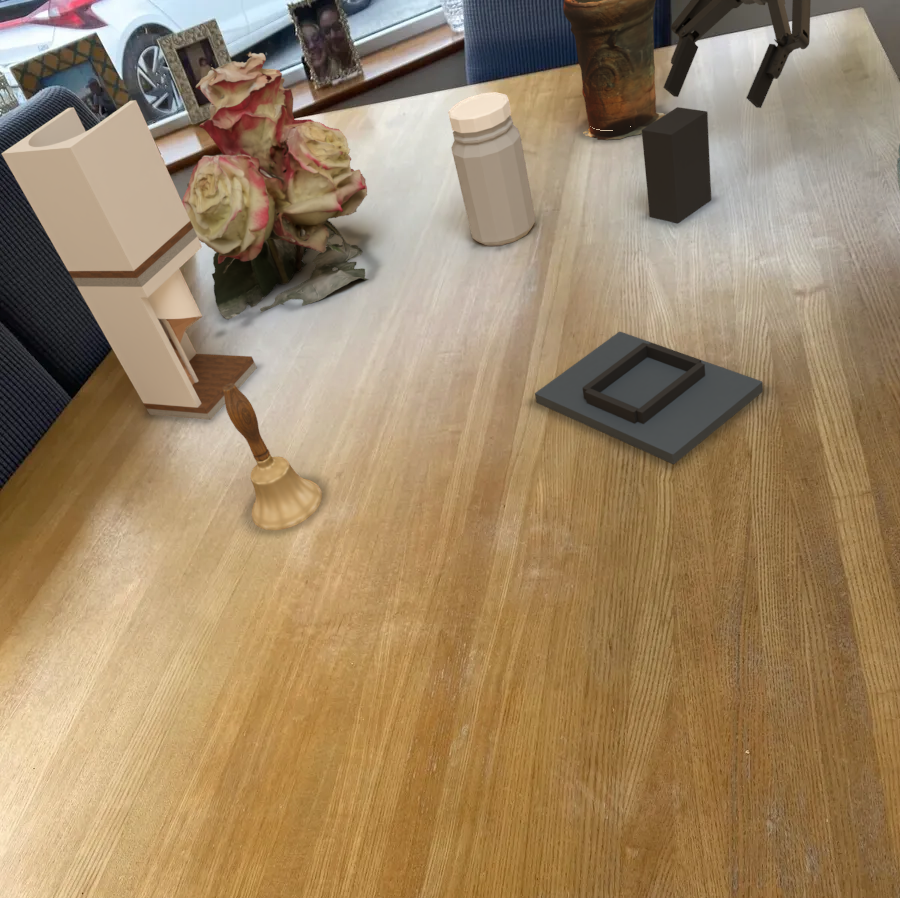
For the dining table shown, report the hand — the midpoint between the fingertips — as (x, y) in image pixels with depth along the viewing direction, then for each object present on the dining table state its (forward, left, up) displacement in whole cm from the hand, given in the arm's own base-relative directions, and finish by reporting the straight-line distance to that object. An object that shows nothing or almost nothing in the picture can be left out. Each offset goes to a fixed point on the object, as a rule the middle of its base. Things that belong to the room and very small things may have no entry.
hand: (710, 97), depth 124 cm
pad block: (+4, +6, -12) cm, 14 cm away
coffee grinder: (+60, +48, -12) cm, 78 cm away
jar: (+29, +9, -12) cm, 32 cm away
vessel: (+19, -26, -12) cm, 34 cm away
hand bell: (+36, +69, -12) cm, 79 cm away
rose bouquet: (+59, +17, -12) cm, 62 cm away
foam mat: (0, +49, -12) cm, 51 cm away
